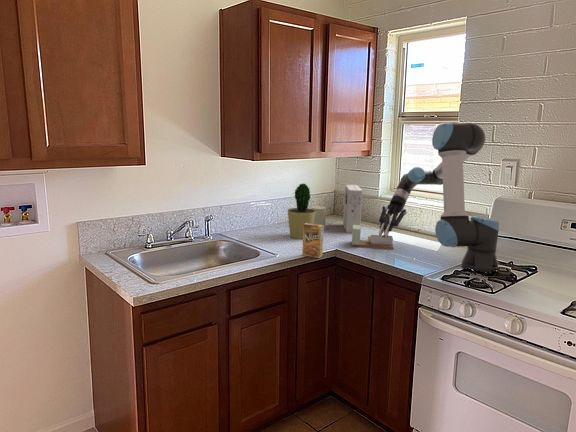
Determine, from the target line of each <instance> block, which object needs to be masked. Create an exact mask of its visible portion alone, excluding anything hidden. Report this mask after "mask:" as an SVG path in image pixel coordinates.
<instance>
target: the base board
mask: <svg viewBox="0 0 576 432" xmlns="http://www.w3.org/2000/svg"><path fill="white" fill-rule="evenodd" d="M351 247H352V248H353V247H354V248H368V249H369V248H370V249H382V250H394V244H393V242H392V245H378V244H370V242H368V239H367V240H365V239H360V245H356V244H352V243H351Z"/></svg>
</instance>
